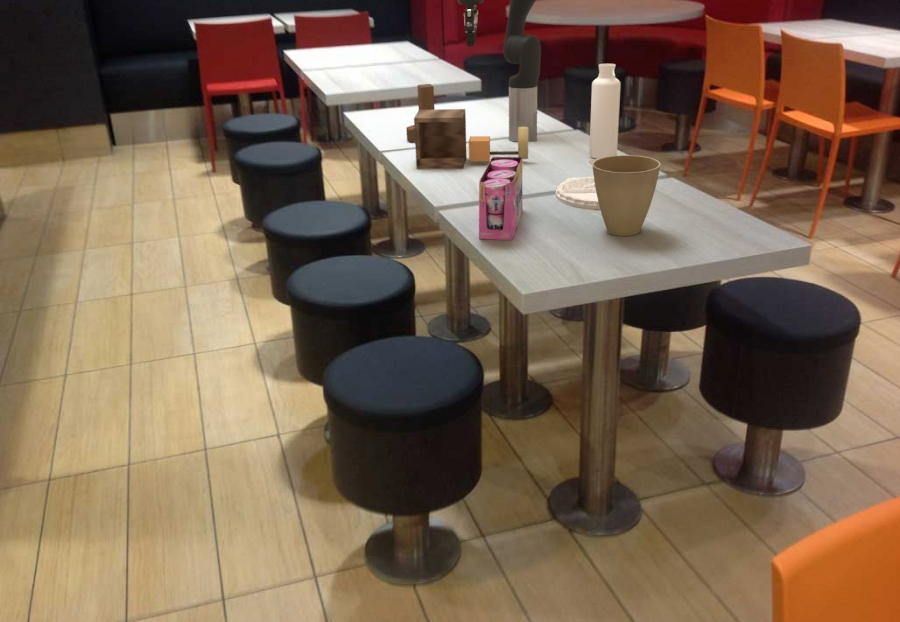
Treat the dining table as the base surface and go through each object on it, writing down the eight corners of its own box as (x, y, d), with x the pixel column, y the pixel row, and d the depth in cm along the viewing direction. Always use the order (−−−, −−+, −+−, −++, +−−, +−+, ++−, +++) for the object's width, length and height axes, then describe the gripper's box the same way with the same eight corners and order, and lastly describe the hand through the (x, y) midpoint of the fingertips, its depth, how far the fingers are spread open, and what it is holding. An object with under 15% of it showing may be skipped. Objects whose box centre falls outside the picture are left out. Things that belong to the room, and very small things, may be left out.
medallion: (587, 216, 204) (587, 207, 203) (532, 189, 226) (532, 180, 225) (665, 202, 212) (666, 193, 211) (605, 176, 235) (606, 168, 234)
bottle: (614, 166, 243) (619, 67, 231) (586, 164, 246) (590, 66, 234) (618, 159, 250) (623, 62, 238) (591, 157, 252) (595, 62, 241)
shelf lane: (466, 158, 257) (465, 109, 251) (463, 168, 246) (462, 117, 240) (421, 158, 258) (419, 109, 252) (416, 168, 248) (414, 118, 241)
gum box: (512, 242, 188) (511, 184, 182) (477, 241, 190) (476, 183, 184) (523, 209, 209) (523, 156, 204) (491, 209, 211) (491, 156, 205)
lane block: (528, 155, 252) (528, 125, 248) (528, 160, 247) (528, 129, 243) (470, 156, 254) (469, 126, 250) (469, 161, 248) (468, 130, 244)
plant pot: (623, 216, 202) (627, 151, 195) (669, 232, 190) (675, 164, 184) (576, 229, 195) (578, 162, 188) (620, 246, 183) (624, 176, 177)
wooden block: (409, 143, 277) (406, 88, 270) (406, 140, 281) (403, 85, 274) (436, 140, 279) (433, 85, 272) (432, 137, 283) (430, 83, 276)
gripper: (481, -13, 233) (482, 47, 240) (484, -17, 246) (485, 41, 253) (455, -12, 234) (456, 48, 240) (459, -16, 247) (460, 41, 253)
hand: (471, 44), depth 247 cm, fingers open, 8 cm apart
